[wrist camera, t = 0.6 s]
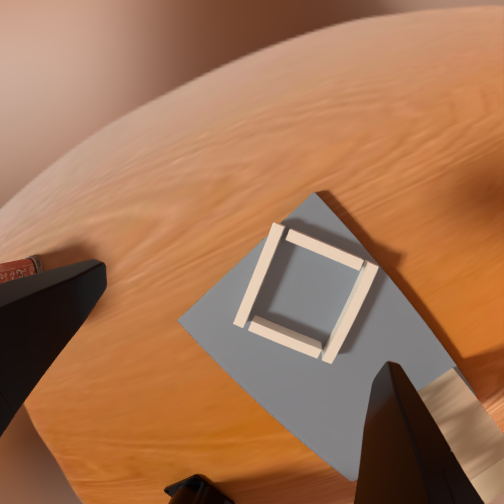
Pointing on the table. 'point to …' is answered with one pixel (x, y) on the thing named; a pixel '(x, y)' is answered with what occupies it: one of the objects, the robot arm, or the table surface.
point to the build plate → (316, 337)
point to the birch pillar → (468, 432)
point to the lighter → (20, 268)
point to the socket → (292, 337)
